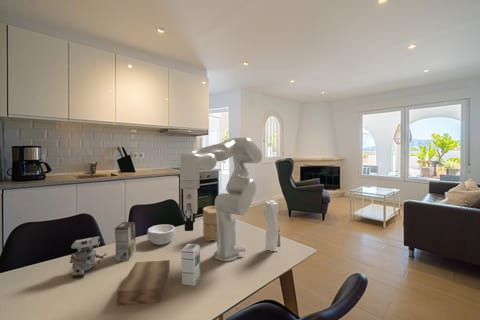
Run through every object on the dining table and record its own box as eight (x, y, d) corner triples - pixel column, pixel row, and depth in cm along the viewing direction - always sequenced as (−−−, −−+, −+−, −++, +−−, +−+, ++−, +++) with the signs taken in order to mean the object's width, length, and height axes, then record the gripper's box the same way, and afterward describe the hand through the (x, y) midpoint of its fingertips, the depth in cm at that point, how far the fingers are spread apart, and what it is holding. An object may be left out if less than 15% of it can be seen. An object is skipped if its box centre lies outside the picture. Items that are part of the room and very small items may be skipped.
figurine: (98, 276, 94) (97, 242, 93) (67, 279, 92) (66, 243, 92) (107, 265, 103) (106, 233, 102) (80, 267, 101) (78, 235, 101)
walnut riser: (169, 271, 99) (169, 260, 98) (159, 301, 79) (159, 288, 79) (136, 273, 97) (136, 262, 96) (117, 305, 77) (117, 291, 77)
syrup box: (195, 286, 88) (194, 250, 87) (181, 284, 89) (180, 249, 88) (200, 278, 93) (200, 244, 93) (187, 276, 94) (187, 243, 94)
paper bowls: (180, 240, 132) (180, 226, 132) (159, 249, 119) (159, 235, 119) (163, 234, 140) (163, 222, 140) (142, 243, 128) (141, 229, 127)
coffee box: (123, 252, 116) (122, 221, 116) (136, 251, 117) (135, 221, 116) (115, 261, 107) (114, 228, 106) (129, 260, 108) (128, 227, 107)
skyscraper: (278, 254, 115) (278, 200, 114) (263, 251, 118) (263, 199, 116) (280, 247, 123) (281, 197, 122) (266, 245, 126) (266, 196, 124)
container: (225, 240, 132) (225, 210, 131) (204, 242, 128) (204, 212, 127) (221, 232, 144) (221, 205, 143) (201, 234, 140) (201, 206, 139)
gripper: (198, 187, 81) (198, 234, 82) (200, 181, 98) (200, 219, 99) (177, 187, 80) (177, 234, 81) (182, 181, 97) (182, 220, 98)
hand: (190, 226), depth 90 cm, fingers open, 9 cm apart
